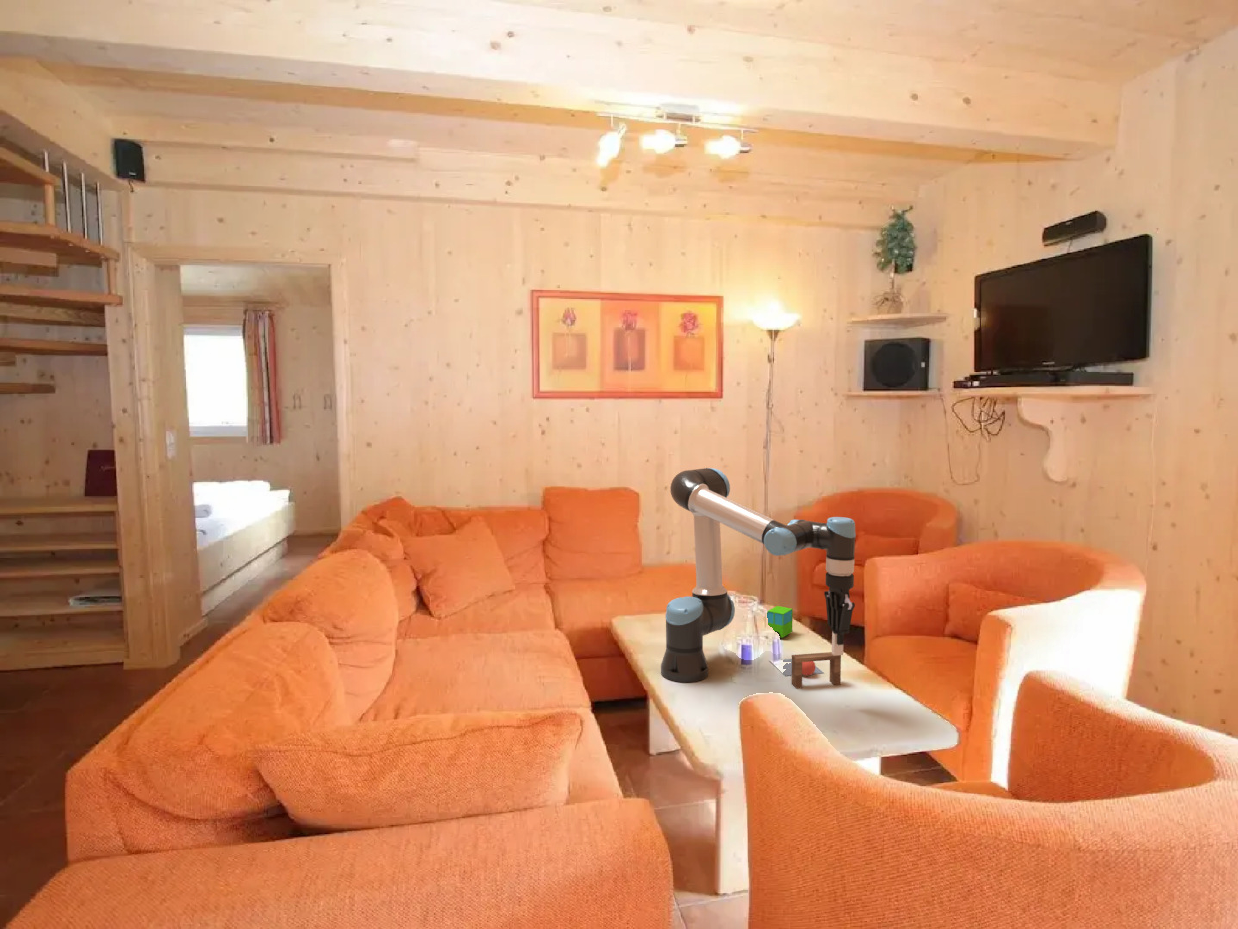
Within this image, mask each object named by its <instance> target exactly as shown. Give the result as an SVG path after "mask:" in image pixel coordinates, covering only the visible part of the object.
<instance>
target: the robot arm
mask: <svg viewBox="0 0 1238 929" xmlns="http://www.w3.org/2000/svg"><path fill="white" fill-rule="evenodd" d="M669 488H670V490H669V491H670V494H671V498H672V500H673V501H674V502H675V503H676V504H677V505H678V506H679V507H681V508H683V509H685V510H687V511H689V512H690V513H691V514H692V515H693V529H694V530H693V531H694V533H693V534H694V554H695V555H694V556H695V558H694V559H695V560H694V561H695V578H696V579H695V580H696V585H695V587H694V588H693V589H692V591H691V594H692V596H684V597H683V596H680V597H677V598H674V599H671V600H670V601H669V602H668V604H667V605H666V610H665V651H664V655H663V658H662V661H661V663H660V674H661V676H662V677H664V678H665V679H667V680H670V681H673V682H677V683H693V682H698V681H702V680H705V679H706V678H707V677H708V675H709V665H708V662H707V659H706V655H705V653H704V648H703V647H704V645H703V644H704V643H703V642H704V638H703V637H704V636H707V635H710V634H712V633H714V632H717V631H721V630H723V629H724V628H725V627H727V626H729V625H730V623H732V621H733V620H734V617H735V612H736V610H735V609H736V608H735V603H734V600H732V597H731V596H730V595H729V594H728V589H727V588H726V587H725V586H724V585H723V570H722V569H723V568H722V564H723V563H722V542H721V524H722V525H724V526H726V527H728V528H730V529H732V530H734V531H736V532H739V533H741V534H742V535H744V536H746V537H748V538H750V539H753V540H755V541H756V542H759V543H761V544H762V545H764V548H765V549H766V550H767V551H768V553H769V554H771V555H772V556H777V557H778V556H779V557H780V556H787V555H790V554H792V553H794V552H799V551H801V550H805V549H808V548H809V549H810V548H811V549H819V550H823V551H824V550H825V552H826V553H825V554H826V556H825V571H826V572H825V586H827V587H828V590H827V591H824V592H823V593H824V594H823V595H824V598H825V606H826V607H825V608H826V620H827V625H828V627H830V630H831V631H832V633H831V635H832V636H831V652H832V654H833V655H834V656H836V655H841V656H844V644H845V643H844V640H845V634H849V633H850V628H851V622H852V618H853V617H852V616H853V611H854V609H855V607H856V604H855V602H852V601H851V600H850V599H851V598H850V597H851V594H850V590H851V589H853V588H854V585H855V576H854V574H853V573H854V572H855V562H856V561H855V550H856V538H857V537H856V536H857V534H856V522H855V520H854V519H853V518H851V517H850V518H849V517H843V516H833V517H828V518H827V520H826V522H825V523H824V522H817V521H811V520H806V519H791V520H790V521H789V523H787V524H784V523H781V522H779V521H777V520H775V519H773V518H771V517H769V516H767V515H764V514H763V513H760V512H758V511H756V510H754V509H752V508H750V507H747V506H745V505H743V504H740V503H739V502H737V501H734V500H732V499H731V498H728V497H729V495H730V491H731V485H730V481H729V479H728V477H727V476H726V474H724V472H723V471H722V470H720V469H718V468H713V467H711V468H709V467H704V468H698V469H688V470H682V471H680V472H678V473H677V474H676V475H675V476H674V477H673V479H672V480H671V483H670V487H669Z"/></svg>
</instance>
